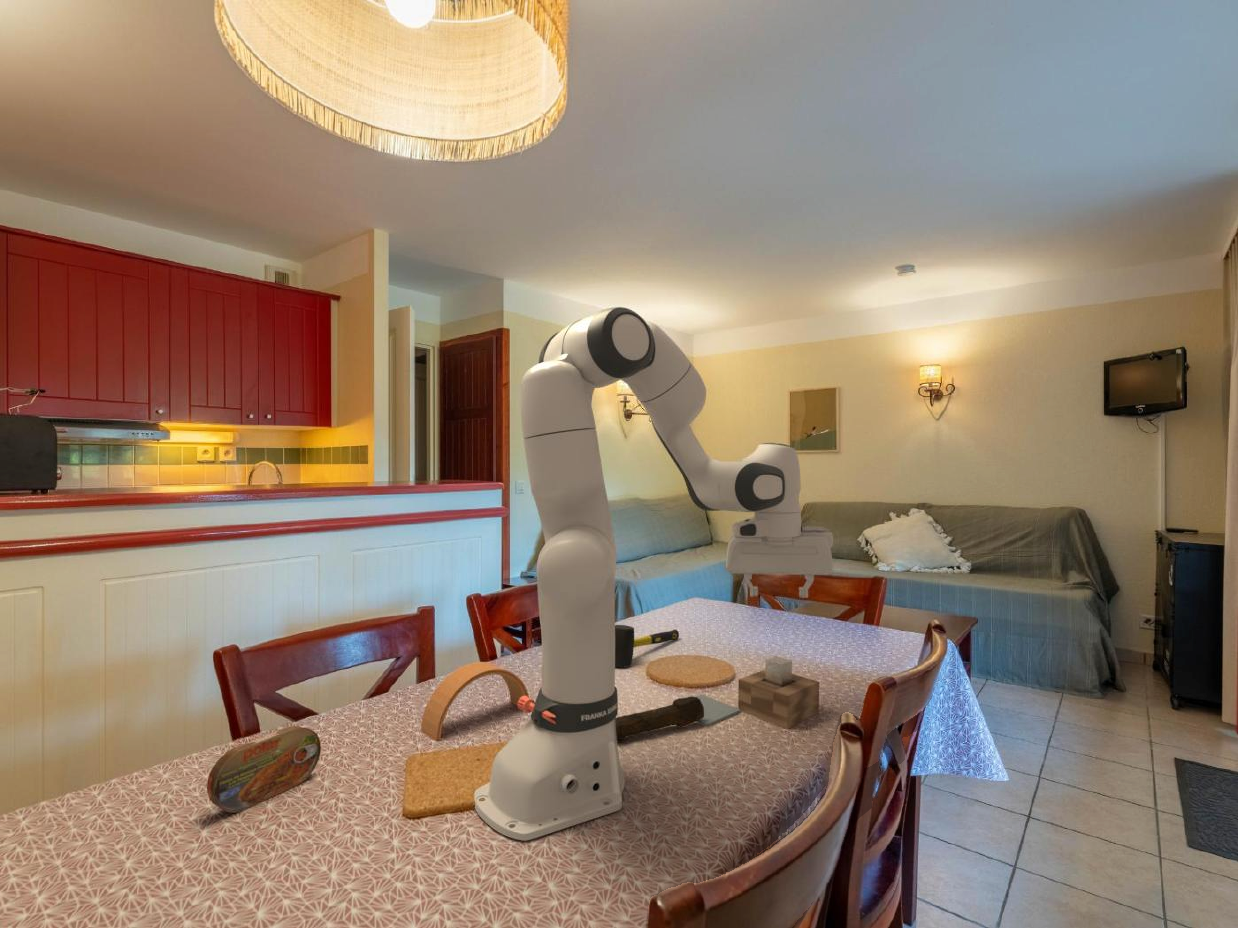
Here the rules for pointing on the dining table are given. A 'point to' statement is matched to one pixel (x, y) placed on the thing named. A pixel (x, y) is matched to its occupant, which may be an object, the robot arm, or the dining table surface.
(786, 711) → the block with square hole
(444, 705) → the arch
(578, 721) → the robot arm
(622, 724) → the hand tool
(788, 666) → the gray rectangular block
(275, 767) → the tin
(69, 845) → the dining table surface
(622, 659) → the mallet
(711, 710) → the pad
